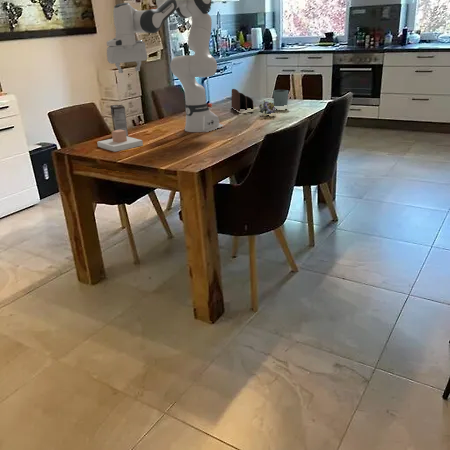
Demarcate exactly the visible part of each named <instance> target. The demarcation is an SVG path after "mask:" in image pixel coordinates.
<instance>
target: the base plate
mask: <svg viewBox="0 0 450 450" xmlns="http://www.w3.org/2000/svg"><path fill="white" fill-rule="evenodd" d="M126 137H127V141H124V142H119V143H117V142H114V141H113V139H112V138H108V139H104V140H99V141H97V142H96V143H97V147H98V148H101V149H104V150H107V151H111V152H120V151H125V150H129V149H133V148H137V147H143V146H144V142H143V140H142V139H140V138H136V137H132V136H129V135H128V136H126Z"/></svg>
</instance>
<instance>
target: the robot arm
mask: <svg viewBox="0 0 450 450" xmlns="http://www.w3.org/2000/svg"><path fill="white" fill-rule="evenodd" d="M155 4H156V6H157V8H152V9H145V10H138V9H136V8H134V7H133V6H132V5H131V4H130V3H129V2H122V3H121V2H120V3H118V4H115V5H114V6H113V10H112V13H113V14H112V15H113V24H114V28H115V37H114V38H112V39H109V40H108V41H106V46H107V49H106V57H107V59H106V60H107V62H108V63H109V64H110V65H111V64H115V67H116V68H117V71H118V73H119V74H123V73H124V70H123V68H121V64H122V63H130V62H131V63H132V62H134V63H136V67H135V68H134V69H135V72H140V71H141V66H142V62H143V61H147V60H148V52H147V49H146V48H147V47H146V43H145V41H143V40H142V39H141V40H136V34H141V33H143V34H145V33H146V34H156V33H157V32H159V31H160V29H161V27H162V26H163V24H164V23H165V21H166V20H168V18H170V17H171V15H173V14H174V12H176V14H177V15H178V16H179V17H180V19H181V18H182V19H189V18H191V26H190V29H189V34H188V40H187V45H188V47H189V49H190V50H191V51H192V52H194V54H193V55H190V54H188V55H179V56H174V57H173V58H172V59H171V61H170V71H171V73H172V74H173V75H174V76H175V77H176V78H177V79H178V80H179V81H180V83H181V85H182V87H183V91H184V92H183V93H184V99H185V104H184V110H185V127H184V131H185V132H189V133H209V131H210V132H212V130H213V131H215V129H216V130H218V129H217V128H219V129H221V128H220V127H222V126H224V124H221V123H220V119H219V116H218V115H217V114H215V113H214V112H213V111H211V110H210V108H212V107H213V104H212V103H207V100H206V99H207V96H206V89H205V87H204V86H203V85H202V84H200V83H199V82H198V81H197V79H196V78H208V77H212V76H214V75H215V74H216V73H217V69H218V62H217V60H216V58H215V57H213V55H211V52H210V49H209V47H210V38H211V34H212V22H213V21H212V17H211V14H209V12H210V11H211V9H212V8H211V6H212V0H155ZM222 128H223V127H222Z"/></svg>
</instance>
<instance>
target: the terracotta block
mask: <svg viewBox="0 0 450 450" xmlns="http://www.w3.org/2000/svg"><path fill="white" fill-rule="evenodd" d="M111 137H112V138H111V139H113V141H114V142H117V143H119V142H124V141H127V137H126V131H125V130H121V129H120V130H115V131H114V130H112V131H111Z"/></svg>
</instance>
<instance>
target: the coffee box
mask: <svg viewBox="0 0 450 450" xmlns="http://www.w3.org/2000/svg"><path fill="white" fill-rule="evenodd" d="M109 106H110V113H111V120H112V126H113V128H112V129H113V131H115V130H120V129H121V130H125V131H126V136H128V137H129V132H128V131H129V130H128V123H127V115H126V107H125V106H124V105H123V104H112V105H109Z"/></svg>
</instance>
